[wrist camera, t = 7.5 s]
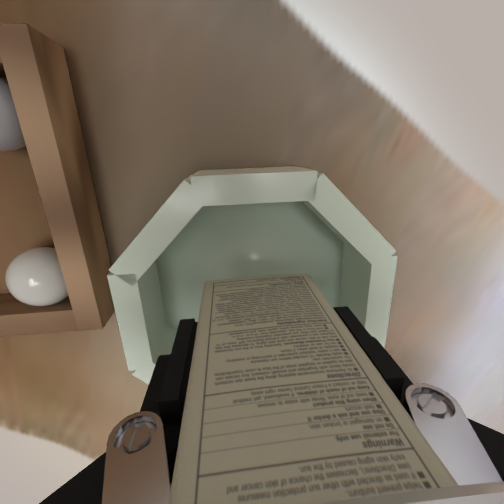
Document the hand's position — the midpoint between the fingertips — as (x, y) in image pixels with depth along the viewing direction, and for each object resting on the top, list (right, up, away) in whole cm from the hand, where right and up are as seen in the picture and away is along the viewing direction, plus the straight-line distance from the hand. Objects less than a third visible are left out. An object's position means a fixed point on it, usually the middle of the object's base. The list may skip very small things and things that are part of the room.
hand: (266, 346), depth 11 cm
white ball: (-11, +3, +5) cm, 13 cm away
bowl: (-1, +2, +6) cm, 6 cm away
